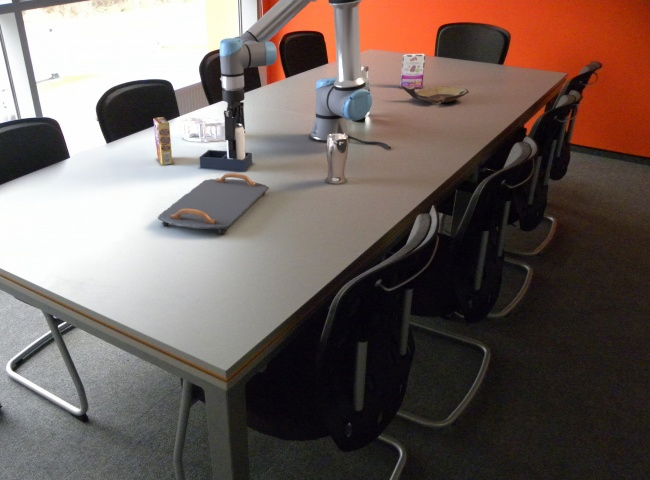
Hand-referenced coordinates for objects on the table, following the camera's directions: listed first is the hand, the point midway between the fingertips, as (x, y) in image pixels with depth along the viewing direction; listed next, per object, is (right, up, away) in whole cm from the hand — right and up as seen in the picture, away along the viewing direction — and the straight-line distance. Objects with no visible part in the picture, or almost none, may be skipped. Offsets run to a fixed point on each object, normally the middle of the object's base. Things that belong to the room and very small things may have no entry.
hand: (236, 154), depth 217 cm
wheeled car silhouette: (-12, +15, +34) cm, 39 cm away
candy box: (-27, 0, +11) cm, 29 cm away
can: (0, -1, +1) cm, 2 cm away
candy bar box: (+89, +59, +102) cm, 148 cm away
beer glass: (+34, -12, -13) cm, 38 cm away
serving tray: (-5, -24, -31) cm, 40 cm away
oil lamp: (+93, +43, +75) cm, 127 cm away
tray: (-4, -3, +3) cm, 6 cm away
